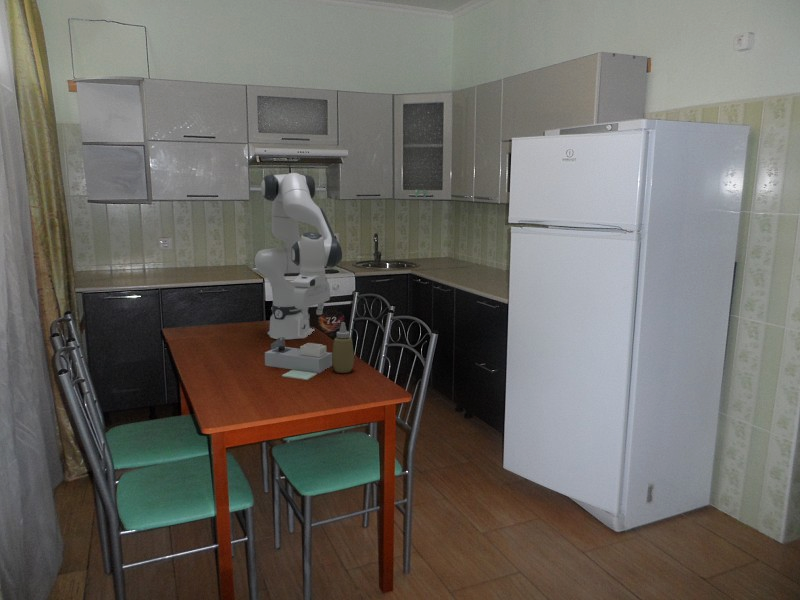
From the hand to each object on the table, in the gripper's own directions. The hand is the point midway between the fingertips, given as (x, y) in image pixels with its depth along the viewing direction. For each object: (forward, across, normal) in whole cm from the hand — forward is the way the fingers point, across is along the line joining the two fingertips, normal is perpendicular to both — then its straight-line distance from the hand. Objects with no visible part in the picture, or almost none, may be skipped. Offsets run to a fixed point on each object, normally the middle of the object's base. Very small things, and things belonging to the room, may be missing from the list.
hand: (313, 316), depth 219 cm
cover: (+14, 0, 0) cm, 14 cm away
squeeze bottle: (+19, -1, +12) cm, 22 cm away
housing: (+19, 0, -6) cm, 20 cm away
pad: (+19, +10, 0) cm, 22 cm away
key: (+14, +4, -13) cm, 19 cm away
